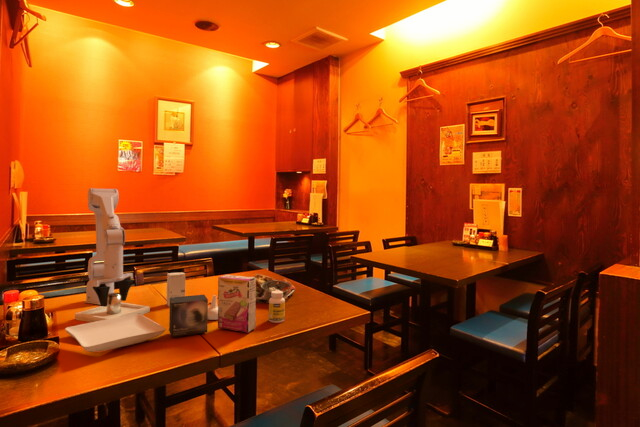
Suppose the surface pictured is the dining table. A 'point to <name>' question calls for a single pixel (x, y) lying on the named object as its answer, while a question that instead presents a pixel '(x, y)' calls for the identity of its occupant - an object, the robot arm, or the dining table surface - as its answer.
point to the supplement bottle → (276, 307)
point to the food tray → (271, 288)
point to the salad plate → (115, 332)
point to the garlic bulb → (213, 309)
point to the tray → (101, 314)
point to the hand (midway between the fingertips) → (113, 303)
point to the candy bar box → (236, 303)
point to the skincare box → (175, 285)
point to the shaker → (114, 303)
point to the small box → (188, 315)
